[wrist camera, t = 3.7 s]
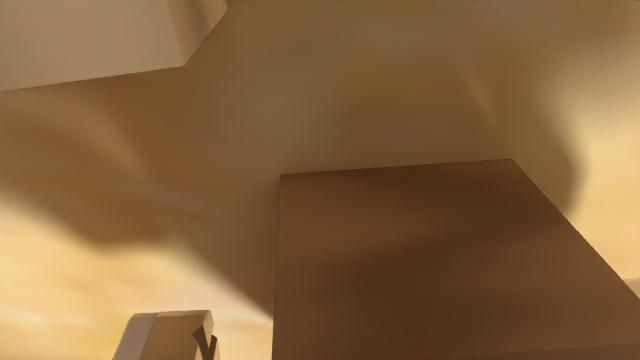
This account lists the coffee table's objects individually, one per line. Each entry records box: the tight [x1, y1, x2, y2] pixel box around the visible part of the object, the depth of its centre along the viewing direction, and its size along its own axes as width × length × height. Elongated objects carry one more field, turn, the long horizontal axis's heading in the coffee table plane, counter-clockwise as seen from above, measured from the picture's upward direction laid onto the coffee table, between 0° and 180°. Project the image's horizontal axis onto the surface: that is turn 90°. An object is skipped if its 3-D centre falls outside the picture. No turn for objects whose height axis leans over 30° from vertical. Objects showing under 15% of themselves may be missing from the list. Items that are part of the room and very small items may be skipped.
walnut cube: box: [272, 159, 640, 360], centre depth 9 cm, size 5×5×5 cm
